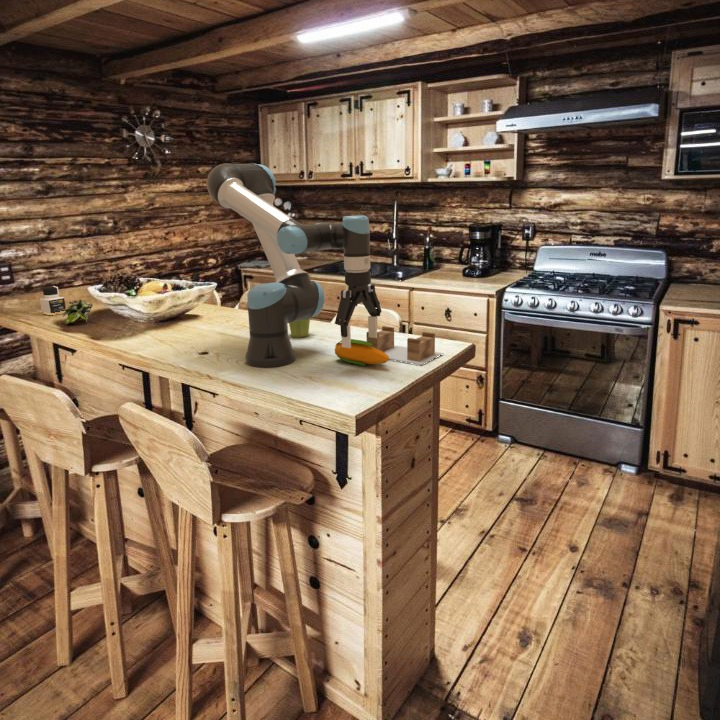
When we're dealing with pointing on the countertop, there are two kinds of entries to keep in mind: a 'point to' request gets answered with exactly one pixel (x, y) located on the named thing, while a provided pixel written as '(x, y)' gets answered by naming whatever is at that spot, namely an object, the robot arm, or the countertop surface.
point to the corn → (360, 353)
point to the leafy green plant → (77, 311)
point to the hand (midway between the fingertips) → (360, 342)
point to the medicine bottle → (52, 300)
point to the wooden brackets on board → (415, 347)
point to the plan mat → (401, 355)
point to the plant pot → (300, 328)
